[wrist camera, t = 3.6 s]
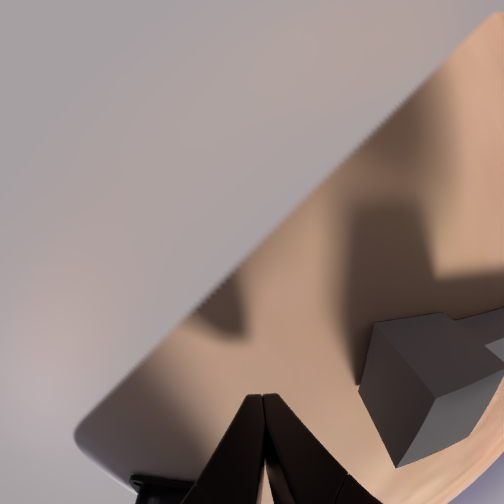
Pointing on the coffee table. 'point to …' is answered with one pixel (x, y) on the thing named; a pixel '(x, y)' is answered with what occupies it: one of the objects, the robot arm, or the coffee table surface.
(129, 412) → the coffee table surface
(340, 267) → the coffee table surface
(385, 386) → the stepped grey block
